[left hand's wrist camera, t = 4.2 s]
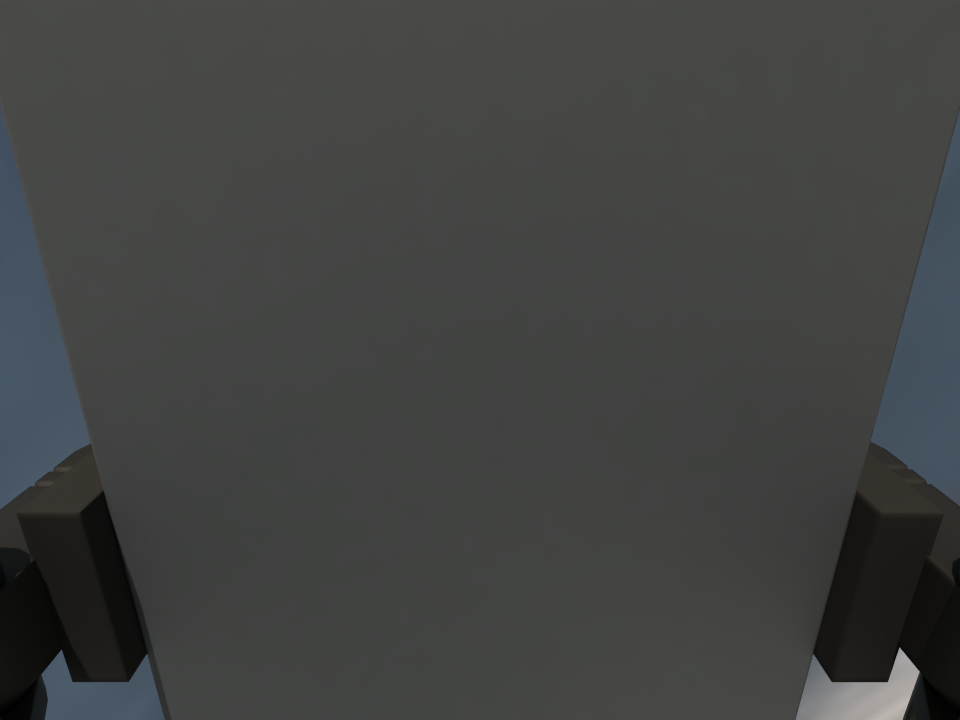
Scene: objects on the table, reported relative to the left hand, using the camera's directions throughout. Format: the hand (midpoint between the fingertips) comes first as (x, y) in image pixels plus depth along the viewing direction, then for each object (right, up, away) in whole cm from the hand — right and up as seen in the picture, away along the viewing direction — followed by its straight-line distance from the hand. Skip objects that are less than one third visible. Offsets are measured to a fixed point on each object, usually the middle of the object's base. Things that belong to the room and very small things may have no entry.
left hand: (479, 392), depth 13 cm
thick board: (0, -26, +11) cm, 28 cm away
